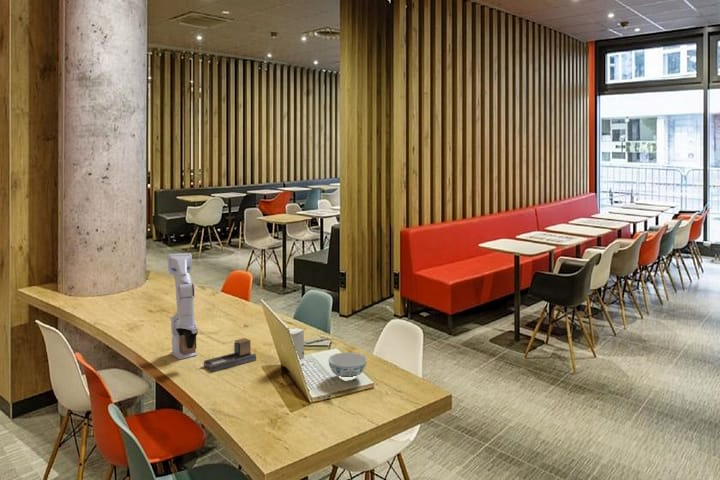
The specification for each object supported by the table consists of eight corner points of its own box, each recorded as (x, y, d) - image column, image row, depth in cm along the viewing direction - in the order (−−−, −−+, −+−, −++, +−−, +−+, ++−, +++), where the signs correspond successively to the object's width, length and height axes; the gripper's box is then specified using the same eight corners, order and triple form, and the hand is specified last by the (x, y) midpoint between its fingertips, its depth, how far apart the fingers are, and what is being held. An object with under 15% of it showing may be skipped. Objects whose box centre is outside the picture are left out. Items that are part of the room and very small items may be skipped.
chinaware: (362, 387, 219) (362, 367, 218) (324, 383, 222) (324, 364, 221) (369, 372, 234) (370, 354, 232) (333, 369, 237) (333, 351, 235)
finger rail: (203, 366, 238) (203, 346, 237) (246, 355, 252) (245, 336, 250) (213, 371, 232) (212, 351, 231) (256, 360, 246) (256, 340, 244)
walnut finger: (179, 352, 234) (178, 335, 233) (192, 349, 238) (191, 333, 237) (183, 355, 231) (183, 338, 230) (197, 352, 235) (196, 335, 234)
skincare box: (293, 370, 235) (292, 334, 233) (280, 367, 238) (280, 332, 236) (304, 363, 242) (304, 329, 240) (292, 361, 245) (292, 326, 243)
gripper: (168, 311, 235) (170, 344, 237) (185, 319, 224) (186, 353, 226) (185, 308, 239) (186, 340, 241) (202, 316, 229) (203, 349, 231)
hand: (187, 346), depth 234 cm, fingers closed on walnut finger, 4 cm apart
